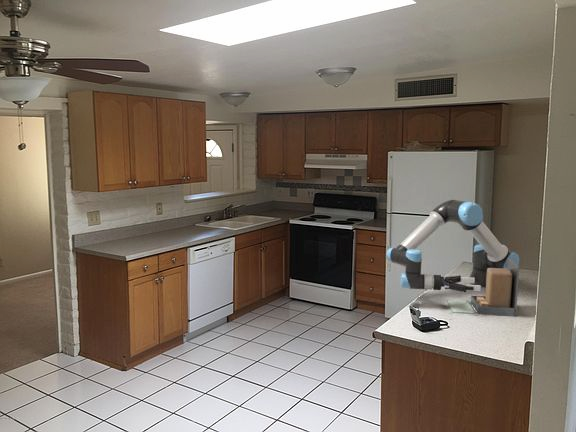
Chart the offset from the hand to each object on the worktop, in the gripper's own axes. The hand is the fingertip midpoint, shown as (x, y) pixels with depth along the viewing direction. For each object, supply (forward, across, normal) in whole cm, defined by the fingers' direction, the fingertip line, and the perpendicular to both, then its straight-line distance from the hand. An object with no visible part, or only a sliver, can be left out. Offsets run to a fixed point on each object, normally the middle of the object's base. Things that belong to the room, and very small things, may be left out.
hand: (477, 284), depth 246 cm
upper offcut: (+3, 0, -10) cm, 11 cm away
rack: (+8, 0, -12) cm, 15 cm away
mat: (-7, 0, -12) cm, 14 cm away
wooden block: (+10, 0, -13) cm, 16 cm away
